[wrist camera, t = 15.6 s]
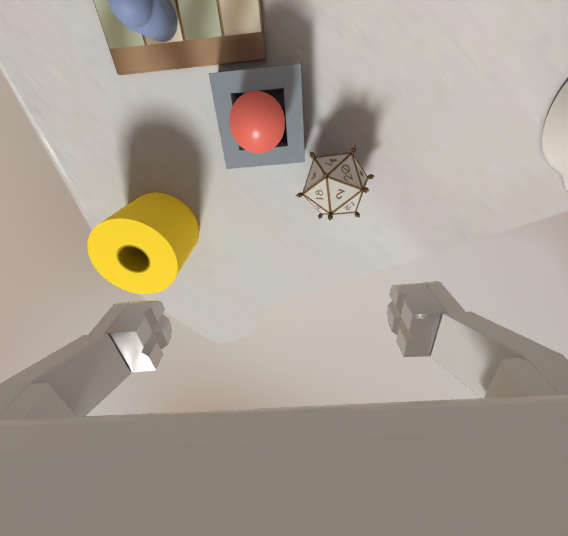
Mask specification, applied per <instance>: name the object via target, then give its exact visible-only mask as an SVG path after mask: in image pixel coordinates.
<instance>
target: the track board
mask: <svg viewBox="0 0 568 536" xmlns="http://www.w3.org/2000/svg"><path fill="white" fill-rule="evenodd" d="M93 1H94V4H95V7H96V10H97V13H98V16H99V19H100V22H101V25H102V28H103V31H104V34H105V37H106V40H107V43H108V46H109V49H110V52H111V55H112V58H113V61H114V65H115V68H116V71H117V74H119V75H125V74H135V73H144V72H153V71H163V70H172V69H181V68H191V67H200V66H210V65H219V64H228V63H238V62H247V61H256V60H266V55H265V44H264V34H263V23H262V13H261V2H260V0H169V1H170V3H171V4H172V6H173V7H174V9H175V12H176V15H177V31H176V33H175V35H174V37H173V38H172V39H171V40H169V41H166V42H160V41H157V40H154V39H152V38H149V37H147V36H144V35H142V34H139V33H137V32H134V31H132V30H130V29H129V28H127V27H126V26H125V25H124V24H123V23H122V22H121V21H120V20H119V19H118V18H117V17H116V16H115V15H114V13H113V12H112V10H111V9H110V7H109V4H108V1H107V0H93Z"/></svg>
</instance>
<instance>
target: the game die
mask: <svg viewBox="0 0 568 536" xmlns="http://www.w3.org/2000/svg"><path fill="white" fill-rule="evenodd" d="M355 150H356V145H355V146H354V147H352V149H351V152H350V153H342V154H335V155H327V156H320V157H315V154H314V152H313V153H312V152H310V156H311V158H313V162H312V165H311V168H310V171H309V174H308V177H307V181H306V184H305V187H304V190H303V193H298V194H297V195H296V196H297V197H301V196H304V197H305V198H306V199H307V200H308V201H309V202H310V203H311V204H312V205H313V206H314V207H315V208H316V209H317V210H318V211H319V212H320V214H319V215H318V217H319V219H320V218H322V216H323V214H327V215H328V219H329V220H331V219H332V217H333V216H332V215H335V214H347V213H355V215H356V217H359V218H360V215H359V212H357V208H358V205H359V203H360V200H361V197H362V194H363V192H366V193H367V192H368V191H369V189H368V188H365V186H366V183H367V180H368V179H372V178H373V177H374V175H372V174H371V175H369V176H367V175H366V173H365V172H364V170H363V169H362V167H361V166H360V164H359V162H358V161H357V159H356V158H355V156H354V155H353V153H354V152H355Z"/></svg>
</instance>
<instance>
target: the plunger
mask: <svg viewBox="0 0 568 536" xmlns="http://www.w3.org/2000/svg"><path fill="white" fill-rule="evenodd" d="M229 124H230V129H231V133H232V135H233V137H234V139H235V141H236V142H237V143H238V144H239V145H240V146H241V147H242V148H243V149H245V150H247V151H249V152H252V153H257V154H258V153H265V152H268V151H270V150H272V149H273V148H275V147H276V146H277V145H278V143H279V142H280V140H281V139H282V136H283V134H284V129H285V117H284V113H283V110H282V108H281V106H280V104H279V103H278V101H277V100H276V99H275V98H274V97H272V96H271V95H269V94H267V93H265V92H261V91H250V92H247V93H245V94H243V95H241V96H240V97H239V98H238V99H237V100H236V101H235V103H234V104H233V106H232V109H231V112H230V117H229Z"/></svg>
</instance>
